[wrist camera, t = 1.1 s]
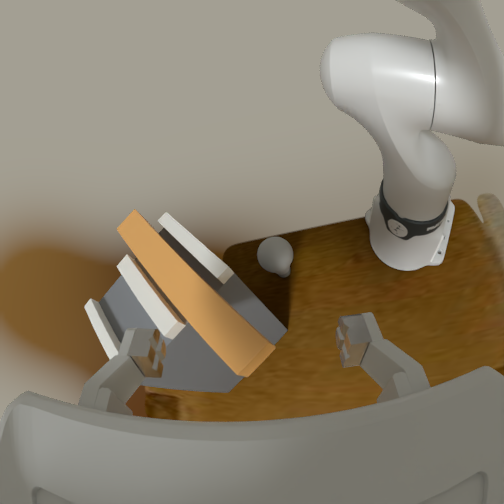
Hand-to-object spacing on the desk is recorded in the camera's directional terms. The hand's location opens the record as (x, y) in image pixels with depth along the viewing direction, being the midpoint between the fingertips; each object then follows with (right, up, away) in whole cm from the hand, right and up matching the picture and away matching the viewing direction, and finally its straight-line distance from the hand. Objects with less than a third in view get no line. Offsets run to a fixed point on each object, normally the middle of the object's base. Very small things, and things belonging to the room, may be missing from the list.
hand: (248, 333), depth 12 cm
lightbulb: (+7, -1, +42) cm, 43 cm away
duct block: (-3, -13, +39) cm, 41 cm away
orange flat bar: (-7, 0, +16) cm, 18 cm away
